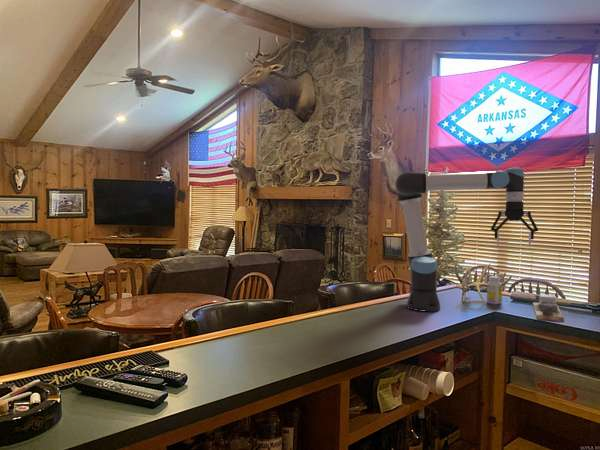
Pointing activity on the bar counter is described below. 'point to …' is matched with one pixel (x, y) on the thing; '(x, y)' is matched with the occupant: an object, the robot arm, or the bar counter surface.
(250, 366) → the bar counter surface
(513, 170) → the robot arm
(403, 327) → the bar counter surface
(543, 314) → the shaft bed
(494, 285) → the supplement bottle
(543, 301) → the coupler
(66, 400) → the bar counter surface
